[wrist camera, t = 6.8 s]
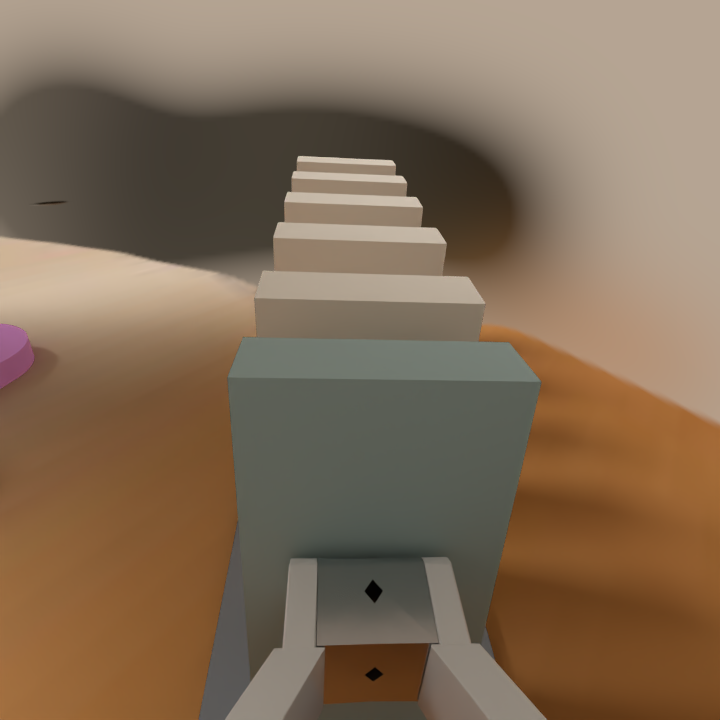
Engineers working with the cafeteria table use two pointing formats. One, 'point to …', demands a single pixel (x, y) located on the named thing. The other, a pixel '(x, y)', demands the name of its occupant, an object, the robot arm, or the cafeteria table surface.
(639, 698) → the cafeteria table surface
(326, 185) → the domino
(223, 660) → the mat
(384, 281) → the domino
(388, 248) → the domino
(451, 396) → the domino
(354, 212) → the domino
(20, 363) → the bracket
